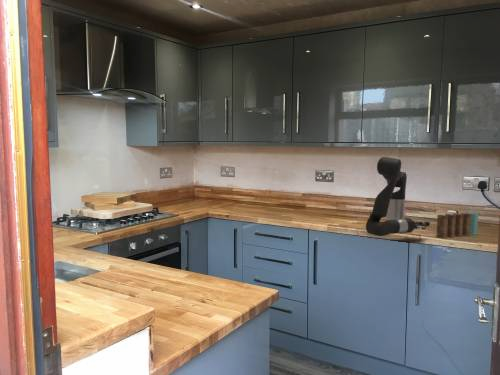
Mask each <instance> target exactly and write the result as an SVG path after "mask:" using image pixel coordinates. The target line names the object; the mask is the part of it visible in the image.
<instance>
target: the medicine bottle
mask: <svg viewBox="0 0 500 375" xmlns="http://www.w3.org/2000/svg"><path fill="white" fill-rule="evenodd" d="M453 213H457V214H459V211H458V210H456V209H448V210H446V214H452V215H453Z"/></svg>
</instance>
